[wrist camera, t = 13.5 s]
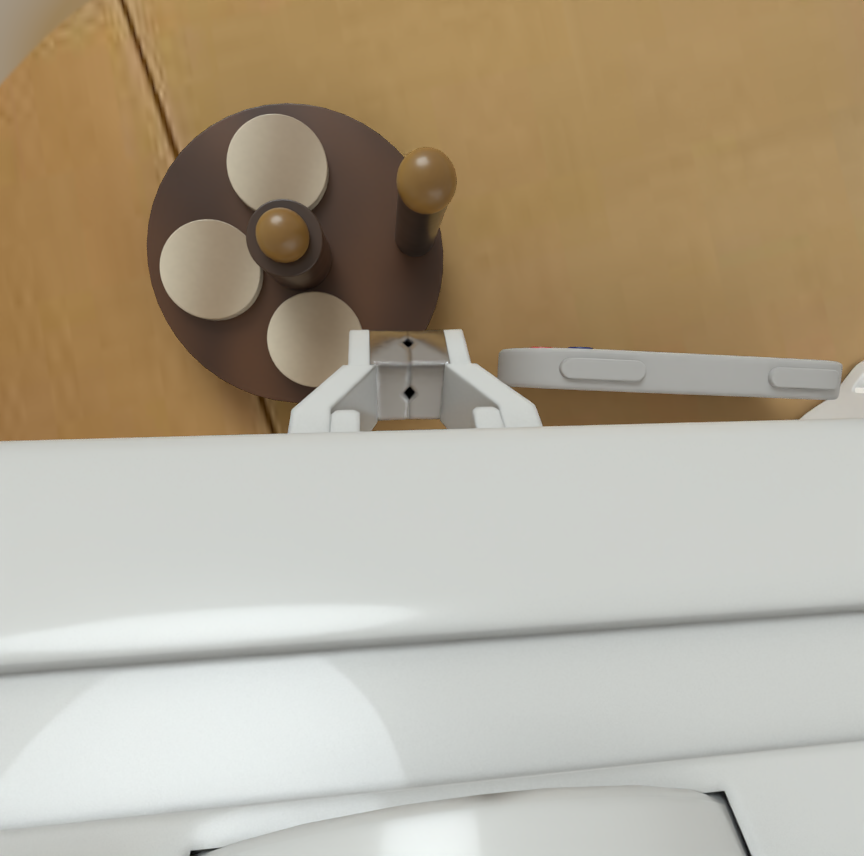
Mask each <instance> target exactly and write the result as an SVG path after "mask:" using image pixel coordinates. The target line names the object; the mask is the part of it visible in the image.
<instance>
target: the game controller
mask: <svg viewBox="0 0 864 856" xmlns="http://www.w3.org/2000/svg"><path fill="white" fill-rule="evenodd" d="M841 376H842V364H841V363H839V362H835V361H826V360H809V359H789V358H769V357H748V356H728V355H707V354H687V353H666V352H645V351H625V350H603V349H593V348H590V347H568V348H551V347H530V348H513V349H504V350H501V351H500V352H499V360H498V379H499V380H500V381H502V382H503V383H505V384H506V385H508V386H511V387H527V388H547V389H568V390H591V391H616V392H640V393H665V394H690V395H714V396H739V397H764V398H789V399H814V400H835V399H837V398H838V397H839V392H840V384H841Z"/></svg>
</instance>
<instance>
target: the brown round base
mask: <svg viewBox="0 0 864 856" xmlns="http://www.w3.org/2000/svg"><path fill="white" fill-rule="evenodd" d="M456 184H457V178H456V172H455V169H454V166H453V164H452V162H451V161H450V159H449V158H448V157H447V156H446V155H445V154H444V153H443V152H441V151H439V150H437V149H434V148H430V147H423V148H418V149H416V150H414V151H412V152H410V153H409V154H408V155H407V156H406V157H405V158H404V157H403V156H402V155H401V154H400V153H399V151H398V150H397V149H396V148H395V147H394V146H393V145H391V144H390V143H389V142H388V141H387V140H386V139H384V138H383V137H382V136H381V135H380V134H378V133H377V132H375V131H374V130H372V129H371V128H369V127H368V126H366V125H364V124H363V123H361V122H359V121H357V120H355V119H353V118H351V117H349V116H346V115H344V114H341V113H338V112H335V111H332V110H329V109H326V108H322V107H317V106H311V105H306V104H288V103H284V104H272V105H264V106H259V107H255V108H250V109H246V110H243V111H241V112H238V113H236V114H233V115H230V116H228V117H226V118H224V119H222V120H221V121H219V122H217V123H215V124H213V125H211V126H210V127H209V128H207V129H206V130H205V131H203V132H202V133H201V134H199V135H198V136H197V137H195V138H194V139H193V140H192V141H191V142H190V143H189V144H188V145H187V146H186V147H185V148H184V149H183V150H182V151H181V153H180V154H179V155H178V157H177V158H176V159H175V161H174V162H173V163H172V165H171V166H170V167H169V169H168V171H167V173H166V175H165V177H164V178H163V180H162V182H161V184H160V186H159V189H158V191H157V194H156V197H155V199H154V202H153V205H152V210H151V214H150V219H149V224H148V236H147V256H148V267H149V272H150V278H151V283H152V286H153V289H154V292H155V296H156V299H157V302H158V304H159V306H160V308H161V311H162V313H163V315H164V317H165V319H166V321H167V323H168V324H169V326H170V327H171V329H172V331H173V332H174V334H175V335H176V337H177V338H178V339H179V341H180V342H181V343H182V344H183V345H184V347H185V348H186V349H187V350H188V352H189V353H190V354H191V355H192V356H193V357H194V358H196V359H197V360H198V361H199V362H200V363H201V364H202V365H203V366H204V367H205V368H207V369H208V370H209V371H211V372H212V373H214V374H215V375H216V376H218V377H219V378H220V379H222V380H224V381H226V382H228V383H229V384H231V385H233V386H235V387H237V388H239V389H241V390H244V391H246V392H249V393H251V394H254V395H257V396H261V397H265V398H268V399H272V400H278V401H286V402H301V401H302V400H303V399H305V398H306V397H307V396H308V395H309V394H310V393H311V392H313V391H314V390H315V389H316V388H317V387H318V386H320V385H321V384H322V383H323V382H324V381H325V380H326V379H328V378H329V377H330V376H331V375H332V374H333V373H335V372H336V371H337V370H338V369H339V368H340V367H341V366H343V365H348V353H349V332H350V330H369V339H370V330H407V331H423V330H426V328H427V326H428V325H429V322H430V320H431V317H432V315H433V312H434V310H435V308H436V304H437V300H438V296H439V293H440V289H441V281H442V274H443V247H442V239H441V232H440V228H439V227H440V224H441V221H442V219H443V216H444V213H445V211H446V208H447V205H448V204H449V202H450V201H451V199H452V198H453V196H454V193H455V190H456Z"/></svg>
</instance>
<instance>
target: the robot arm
mask: <svg viewBox="0 0 864 856" xmlns="http://www.w3.org/2000/svg"><path fill="white" fill-rule="evenodd" d="M401 419H440V421H441V422H442V423H443V424H444V425H445V427H446V428H447V429H434V430H397V431H371V430H372V429H373V428H374V426H375V425H376V423H377V421H382V420H401ZM0 856H864V361H862V362H860V363H858V364H857V365H856V366H855V367H854V368H853V369H852V370H851V372H850V373H849V374H848V375H847V377H846V378H845V380H844V381H843V382H842V384H841V385H840V392H839V397H838V398H837V399H835V400H825V401H824V402H822V403H821V404H819V405H818V406H816V407H815V408H813V409H812V410H810V411H809V412H808V413H806V414H805V415H804V416H803V417H801V418H800V419H799V420H768V421H730V422H693V423H655V424H617V425H580V426H544V427H543V425H542V423H541V420H540V417H539V414H538V412H537V409H536V406H535V404H533V403H532V402H530V401H529V400H527V399H526V398H525V397H523V396H522V395H520V394H519V393H518V392H516V391H515V390H513V389H512V388H510V387H509V386H508V385H506V384H505V383H503V382H502V381H500V380H499V379H498V378H496V377H495V376H493V375H492V374H491V373H489V372H488V371H486V370H485V369H483V368H482V367H481V366H479V365H478V364H476V363H475V364H471V360H470V356H469V353H468V349H467V345H466V341H465V337H464V334H463V330H461V329H449V330H423V331H407V330H370V339H369V330H350V332H349V353H348V365H343V366H341V367H340V368H339V369H338V370H337V371H336V372H335V373H333V374H332V375H331V376H330V377H329V378H328V379H326V380H325V381H324V382H323V383H322V384H321V385H320V386H318V387H317V388H316V389H315V390H314V391H313V392H311V393H310V394H309V395H308V396H307V397H306V398H305V399H303V400H302V401H301V402H300V403H299V404H298V405H296V406H295V407H294V408H293V409H292V410H291V416H290V423H289V429H288V433H286V434H249V435H212V436H175V437H138V438H101V439H64V440H26V441H0Z"/></svg>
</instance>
